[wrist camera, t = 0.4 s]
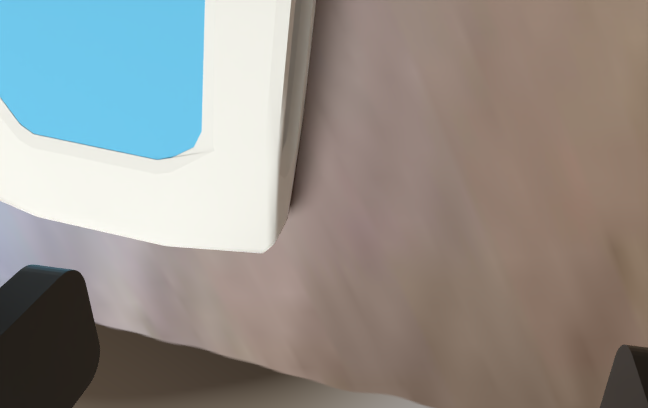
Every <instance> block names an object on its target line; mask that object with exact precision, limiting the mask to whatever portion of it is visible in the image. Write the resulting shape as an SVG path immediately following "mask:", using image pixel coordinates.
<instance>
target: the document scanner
mask: <svg viewBox="0 0 648 408" xmlns="http://www.w3.org/2000/svg"><path fill="white" fill-rule="evenodd" d="M315 7H316V0H0V201H2V202H4V203H6V204H9V205H11V206H13V207H16V208H18V209H20V210H23V211H25V212H27V213H29V214H32V215H34V216H36V217H40V218H45V219H49V220H54V221H58V222H62V223H67V224H71V225H76V226H80V227H84V228H89V229H93V230H98V231H102V232H106V233H111V234H115V235H120V236H124V237H128V238H133V239H137V240H142V241H146V242H150V243H155V244H159V245H164V246H174V247H186V248H199V249H212V250H225V251H238V252H251V253H264V252H265V251H266V250H268V249H269V248H270V247H271V246H273V245H274V244H275V242H276V240H277V238H278V236H279V234H280V233H281V231H282V229H283V227H284V225H285V223H286V221H287V219H288V213H289V207H290V200H291V194H292V187H293V181H294V175H295V168H296V162H297V155H298V149H299V143H300V136H301V130H302V123H303V114H304V105H305V96H306V88H307V79H308V70H309V61H310V52H311V43H312V34H313V25H314V16H315Z"/></svg>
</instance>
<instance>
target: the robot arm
mask: <svg viewBox="0 0 648 408" xmlns="http://www.w3.org/2000/svg"><path fill="white" fill-rule="evenodd" d="M99 357H100V345H99V340H98V336H97V332H96V327H95V322H94V318H93V314H92V309H91V305H90V301H89V296H88V292H87V287H86V283H85V280H84V278H83V276H82V275H81V273H79V272H78V271H76V270H70V269H63V268H55V267H48V266H40V265H28V266H26V267H24V268H22V269H21V270H20V271H19V272H17V273H16V274H15V275H14V276H13V277H12V278H11V279H10V280H8V281H7V282H6V283H5V284H4V285H3V286H2V287H1V288H0V408H72V407H73V406H74V405H75V403H76V401H77V400H78V399H79V398H80V396H81V395H82V394H83V392H84V391H85V390H86V388H87V387H88V386H89V384H90V383H91V381H92V379H93V377H94V375H95V372H96V369H97V367H98V362H99ZM600 408H648V348H646V347H638V346H630V345H622V346H621V347H620V348H619V349H618V351H617V353H616V356H615V359H614V362H613V366H612V369H611V372H610V376H609V379H608V382H607V386H606V389H605V392H604V396H603V399H602V402H601V406H600Z"/></svg>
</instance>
